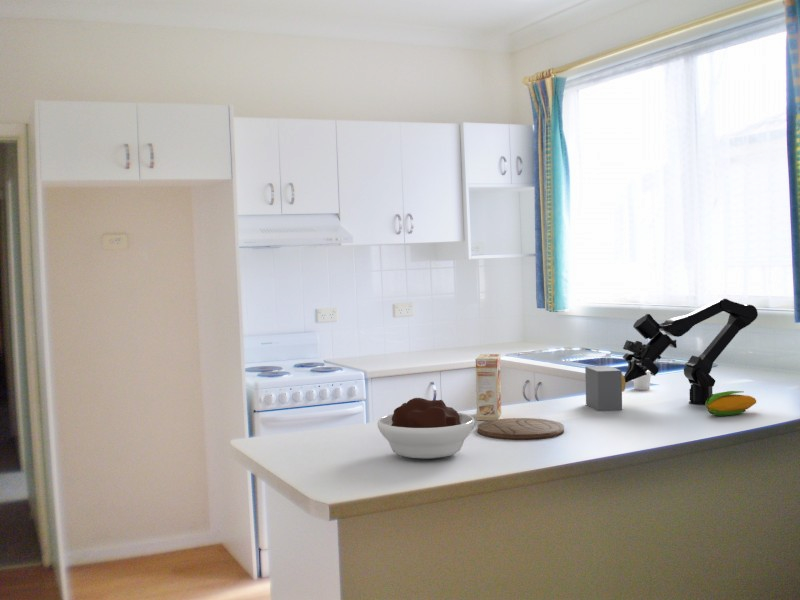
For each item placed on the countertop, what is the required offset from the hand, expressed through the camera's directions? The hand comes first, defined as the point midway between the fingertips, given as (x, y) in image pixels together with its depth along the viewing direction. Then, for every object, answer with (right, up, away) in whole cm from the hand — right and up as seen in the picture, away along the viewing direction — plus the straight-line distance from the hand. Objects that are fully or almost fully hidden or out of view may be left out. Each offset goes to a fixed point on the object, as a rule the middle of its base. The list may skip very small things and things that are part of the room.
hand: (623, 382), depth 278 cm
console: (-7, -8, 0) cm, 11 cm away
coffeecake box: (-46, -10, -11) cm, 49 cm away
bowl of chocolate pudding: (-68, -13, -64) cm, 95 cm away
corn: (+29, -9, -18) cm, 35 cm away
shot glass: (+17, -7, +38) cm, 42 cm away
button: (-3, -3, 0) cm, 5 cm away
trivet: (-40, -11, -36) cm, 55 cm away
